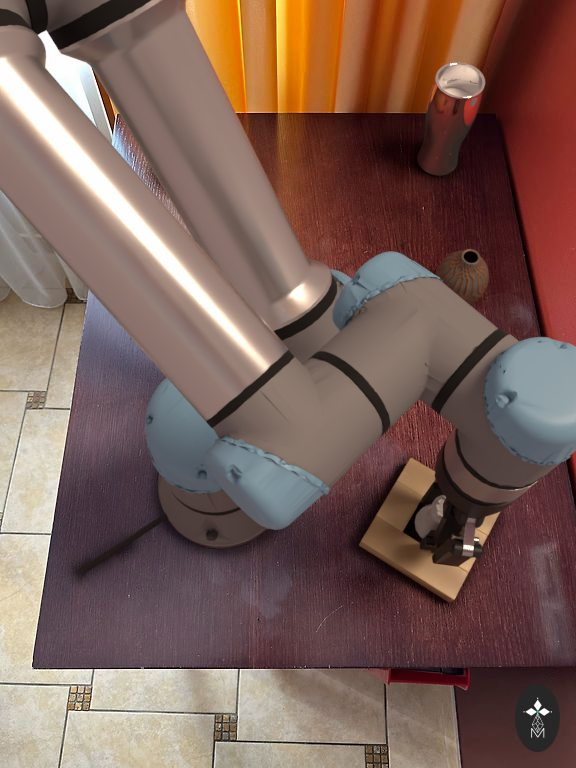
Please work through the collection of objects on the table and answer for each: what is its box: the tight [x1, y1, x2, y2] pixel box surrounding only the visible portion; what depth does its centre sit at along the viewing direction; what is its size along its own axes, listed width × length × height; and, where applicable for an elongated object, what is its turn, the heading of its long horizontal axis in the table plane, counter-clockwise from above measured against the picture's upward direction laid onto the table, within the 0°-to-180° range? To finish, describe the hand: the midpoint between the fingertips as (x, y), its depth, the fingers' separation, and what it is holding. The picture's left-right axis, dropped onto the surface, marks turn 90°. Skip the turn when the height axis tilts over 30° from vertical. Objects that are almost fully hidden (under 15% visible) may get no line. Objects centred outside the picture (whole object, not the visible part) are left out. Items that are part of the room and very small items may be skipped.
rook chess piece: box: [414, 495, 446, 539], centre depth 75 cm, size 4×4×8 cm
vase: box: [434, 248, 490, 306], centre depth 90 cm, size 7×7×9 cm
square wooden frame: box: [358, 457, 501, 603], centre depth 80 cm, size 12×12×2 cm
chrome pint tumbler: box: [416, 61, 486, 177], centre depth 97 cm, size 7×7×15 cm
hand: (432, 524), depth 78 cm, fingers closed on rook chess piece, 4 cm apart
